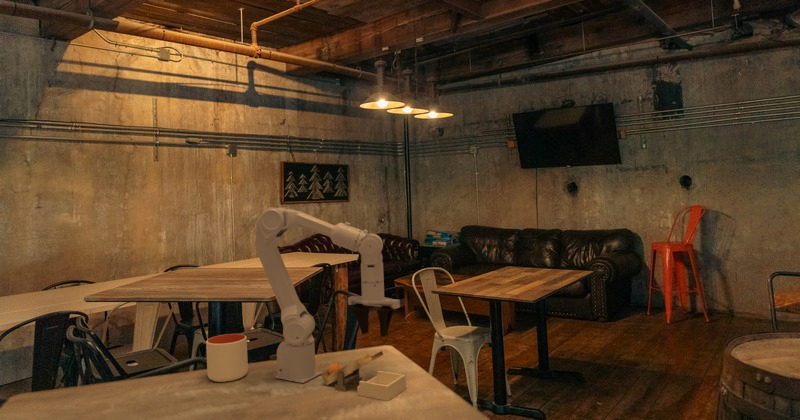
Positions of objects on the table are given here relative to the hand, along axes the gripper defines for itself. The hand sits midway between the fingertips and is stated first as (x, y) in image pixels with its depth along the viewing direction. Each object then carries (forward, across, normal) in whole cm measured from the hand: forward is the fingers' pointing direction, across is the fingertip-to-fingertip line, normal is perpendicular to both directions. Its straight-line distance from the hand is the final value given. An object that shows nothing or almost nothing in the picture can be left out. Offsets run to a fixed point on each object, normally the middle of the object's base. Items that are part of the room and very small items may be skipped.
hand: (374, 334), depth 129 cm
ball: (+7, -6, -9) cm, 13 cm away
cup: (+11, -35, -17) cm, 40 cm away
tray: (+10, +8, -9) cm, 16 cm away
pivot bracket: (+10, -2, -9) cm, 14 cm away
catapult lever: (+7, -2, -6) cm, 10 cm away
